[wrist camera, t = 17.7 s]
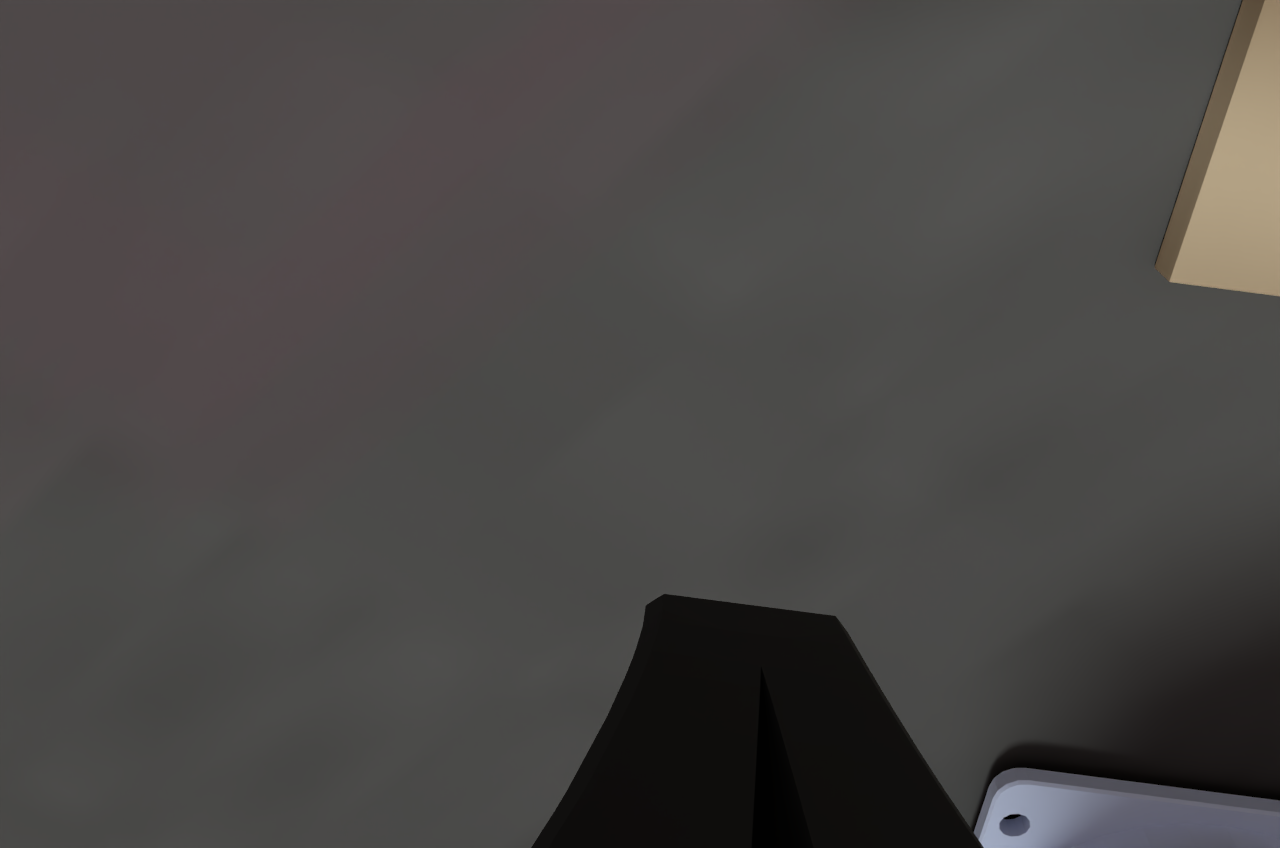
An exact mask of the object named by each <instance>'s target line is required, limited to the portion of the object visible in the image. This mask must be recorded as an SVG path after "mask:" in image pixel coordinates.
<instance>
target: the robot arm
mask: <svg viewBox="0 0 1280 848" xmlns="http://www.w3.org/2000/svg"><path fill="white" fill-rule="evenodd" d="M1010 814H1020V815H1021V816H1019V817H1017V818H1015V819H1003V818H1004V817H1006V816H1008V815H1010ZM531 848H1280V801H1279V800H1272V799H1264V798H1256V797H1248V796H1240V795H1233V794H1225V793H1217V792H1209V791H1202V790H1194V789H1186V788H1178V787H1170V786H1163V785H1155V784H1147V783H1139V782H1132V781H1124V780H1116V779H1108V778H1100V777H1093V776H1085V775H1077V774H1069V773H1062V772H1054V771H1046V770H1038V769H1031V768H1012V769H1009V770H1006V771H1003V772H1001V773H1000V774H999V775H997V776H996V777H994V779H993V780H992V782H991V784H990V785H989V788H988V791H987V794H986V797H985V800H984V803H983V806H982V809H981V812H980V815H979V818H978V821H977V824H976V827H975V830H974V833H973V831H972V830H971V828H970V827H969V825H968V824H967V822H966V821H965V819H964V818H963V817H962V815H961V814H960V812H959V811H958V809H957V808H956V806H955V805H954V803H953V802H952V800H951V799H950V798H949V796H948V795H947V793H946V792H945V790H944V789H943V787H942V786H941V784H940V783H939V781H938V780H937V778H936V776H935V775H934V773H933V772H932V770H931V769H930V767H929V766H928V764H927V763H926V761H925V760H924V758H923V756H922V755H921V753H920V752H919V750H918V748H917V747H916V745H915V744H914V742H913V740H912V739H911V737H910V736H909V734H908V732H907V731H906V729H905V728H904V726H903V724H902V723H901V721H900V720H899V718H898V716H897V715H896V713H895V712H894V710H893V708H892V707H891V705H890V703H889V702H888V700H887V698H886V697H885V695H884V693H883V692H882V690H881V688H880V687H879V685H878V683H877V682H876V680H875V678H874V677H873V675H872V673H871V672H870V670H869V668H868V666H867V665H866V663H865V661H864V660H863V658H862V656H861V655H860V653H859V651H858V649H857V648H856V646H855V644H854V643H853V641H852V639H851V637H850V636H849V634H848V632H847V631H846V630H845V628H844V627H843V626H842V624H841V623H840V622H839V620H838V619H837V618H836V616H831V615H823V614H815V613H807V612H800V611H792V610H784V609H776V608H769V607H761V606H753V605H745V604H738V603H730V602H722V601H714V600H707V599H699V598H691V597H683V596H676V595H668V594H663V595H662V596H660V597H659V598H657V599H655V600H654V601H652V602H651V603H649V604H647V605H646V609H645V615H644V622H643V627H642V631H641V634H640V638H639V641H638V644H637V648H636V650H635V653H634V656H633V659H632V661H631V664H630V666H629V669H628V671H627V674H626V676H625V679H624V681H623V683H622V685H621V687H620V690H619V692H618V694H617V696H616V698H615V701H614V703H613V705H612V707H611V709H610V712H609V714H608V716H607V718H606V720H605V721H604V723H603V725H602V727H601V729H600V731H599V733H598V734H597V736H596V738H595V740H594V742H593V744H592V746H591V747H590V749H589V751H588V753H587V755H586V757H585V759H584V760H583V762H582V764H581V766H580V768H579V770H578V771H577V773H576V775H575V777H574V779H573V781H572V783H571V784H570V786H569V788H568V790H567V792H566V793H565V795H564V797H563V798H562V800H561V802H560V803H559V805H558V807H557V808H556V810H555V812H554V813H553V815H552V816H551V818H550V820H549V821H548V823H547V824H546V826H545V827H544V829H543V830H542V832H541V833H540V835H539V837H538V838H537V840H536V841H535V843H534V844H533V846H532V847H531Z"/></svg>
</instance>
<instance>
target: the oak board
mask: <svg viewBox="0 0 1280 848" xmlns="http://www.w3.org/2000/svg"><path fill="white" fill-rule="evenodd" d="M1155 268H1156V269H1157V270H1158V271H1159V272H1160V273H1161V274H1162V275H1163V276H1164V277H1165V278H1166V279H1167V280H1168V281H1169V282H1174V283H1182V284H1190V285H1198V286H1205V287H1213V288H1221V289H1228V290H1236V291H1244V292H1252V293H1259V294H1267V295H1275V296H1280V0H1243V1H1242V4H1241V7H1240V10H1239V13H1238V16H1237V19H1236V23H1235V26H1234V29H1233V32H1232V35H1231V38H1230V41H1229V44H1228V47H1227V50H1226V53H1225V56H1224V59H1223V62H1222V65H1221V68H1220V71H1219V74H1218V77H1217V80H1216V83H1215V86H1214V89H1213V92H1212V95H1211V98H1210V101H1209V104H1208V107H1207V110H1206V113H1205V116H1204V119H1203V122H1202V125H1201V128H1200V131H1199V134H1198V137H1197V140H1196V143H1195V146H1194V149H1193V152H1192V155H1191V158H1190V161H1189V164H1188V168H1187V171H1186V174H1185V177H1184V180H1183V183H1182V186H1181V189H1180V192H1179V195H1178V198H1177V201H1176V204H1175V207H1174V210H1173V213H1172V216H1171V219H1170V222H1169V225H1168V228H1167V231H1166V234H1165V237H1164V240H1163V243H1162V246H1161V249H1160V252H1159V255H1158V258H1157V261H1156V264H1155Z"/></svg>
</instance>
